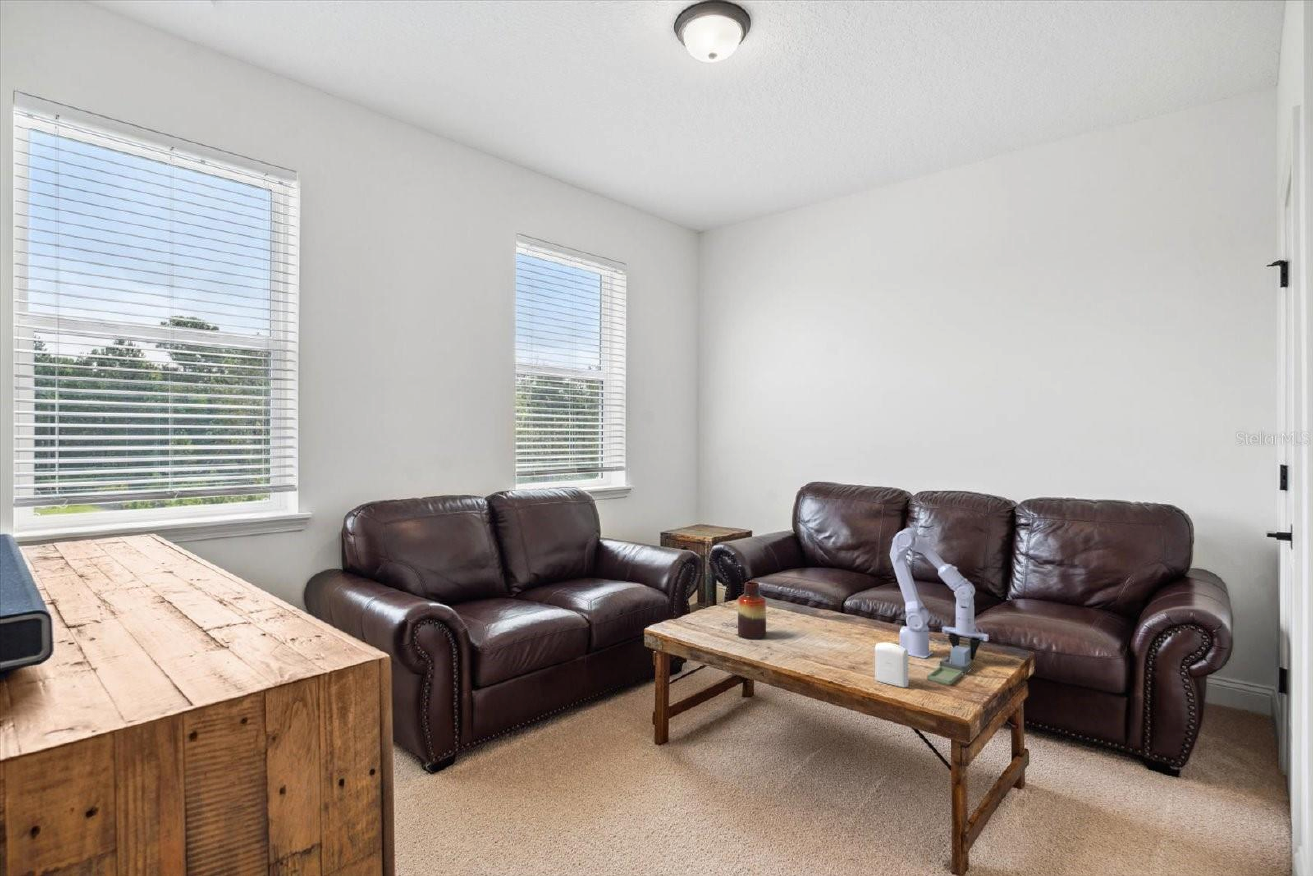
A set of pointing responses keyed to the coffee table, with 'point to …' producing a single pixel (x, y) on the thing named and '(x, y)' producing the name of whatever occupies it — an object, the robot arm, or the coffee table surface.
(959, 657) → the stepped two-tone block
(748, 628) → the vase
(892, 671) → the photo printer
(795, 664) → the coffee table surface
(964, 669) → the bay
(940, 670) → the tray
